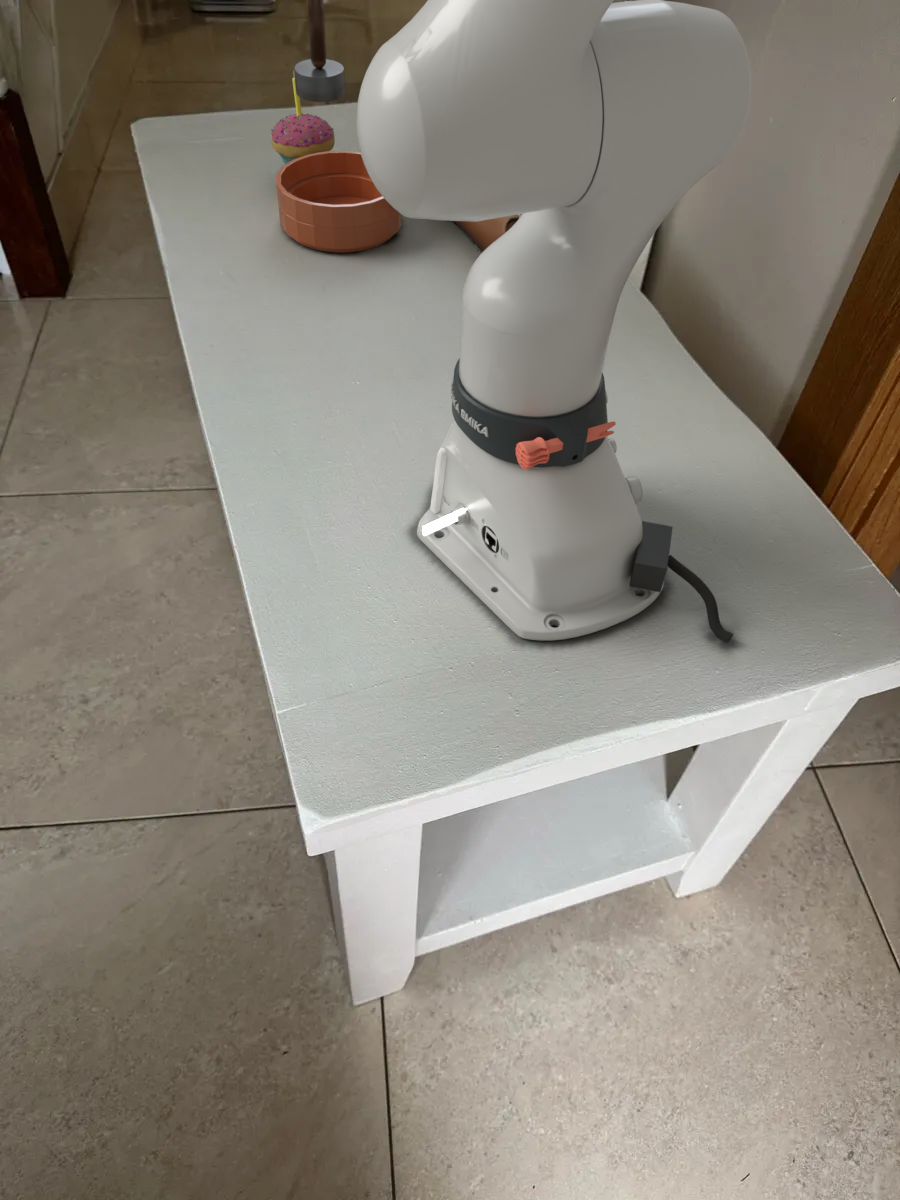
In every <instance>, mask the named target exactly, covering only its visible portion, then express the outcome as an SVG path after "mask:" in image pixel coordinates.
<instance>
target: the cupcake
mask: <svg viewBox="0 0 900 1200" xmlns="http://www.w3.org/2000/svg"><path fill="white" fill-rule="evenodd" d="M292 74H293V77H292V87H293V95H294V104H295V110H296V112H295V113H293V114H289V115H288V116H285V117H282V118H280V120H279V121H278V122H277V123H276V124H275V125H274V126H273V127H272V129H271V136H270V144H271V146H272V149H274V150H275V152H276V153H277V154H278V155H279V156H280V157H281V160H282V162H283V166H284V165H285V164H287V163H289V162H290V161H292V160H294V159H296V158H299V157H302V156H305V155H308V154H313V153H319V152H325V151H326V152H327V151H333V148H334V147H335V142H336V138H335V131H334V130H335V129H334V127H332V126H331V125H330V124H329V123H328V122H327V120H326V119H324V118H321V117H320V116H317V115H313V114H312V113H311V114H310V113H302V104H301V98H300V97H299V96H298V95H297V94H296V85H295V73H294V70H293V71H292Z"/></svg>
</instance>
